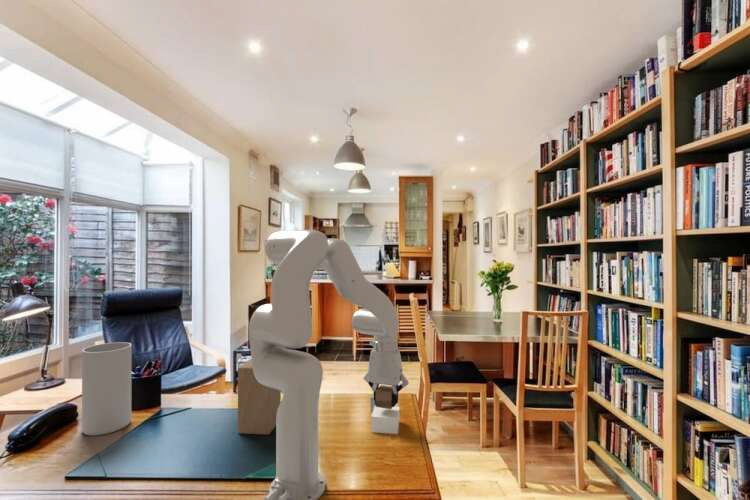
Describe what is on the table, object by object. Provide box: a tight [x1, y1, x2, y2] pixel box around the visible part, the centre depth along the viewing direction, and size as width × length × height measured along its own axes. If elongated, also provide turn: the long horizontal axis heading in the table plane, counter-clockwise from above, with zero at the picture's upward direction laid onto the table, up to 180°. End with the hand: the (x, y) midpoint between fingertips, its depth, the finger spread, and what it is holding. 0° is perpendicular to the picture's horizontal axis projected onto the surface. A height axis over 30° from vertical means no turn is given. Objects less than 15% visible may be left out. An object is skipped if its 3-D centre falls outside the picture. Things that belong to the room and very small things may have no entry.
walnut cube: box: [376, 384, 393, 409], centre depth 114 cm, size 5×5×5 cm
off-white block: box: [370, 406, 400, 435], centre depth 114 cm, size 8×8×5 cm
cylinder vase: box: [81, 341, 133, 437], centre depth 114 cm, size 12×12×25 cm
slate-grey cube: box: [370, 393, 376, 413], centre depth 126 cm, size 5×5×5 cm
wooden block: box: [237, 358, 282, 436], centre depth 114 cm, size 10×10×20 cm
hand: (385, 403), depth 114 cm, fingers closed on walnut cube, 4 cm apart
